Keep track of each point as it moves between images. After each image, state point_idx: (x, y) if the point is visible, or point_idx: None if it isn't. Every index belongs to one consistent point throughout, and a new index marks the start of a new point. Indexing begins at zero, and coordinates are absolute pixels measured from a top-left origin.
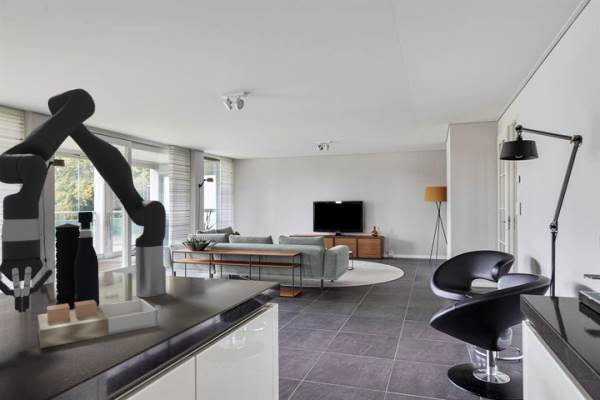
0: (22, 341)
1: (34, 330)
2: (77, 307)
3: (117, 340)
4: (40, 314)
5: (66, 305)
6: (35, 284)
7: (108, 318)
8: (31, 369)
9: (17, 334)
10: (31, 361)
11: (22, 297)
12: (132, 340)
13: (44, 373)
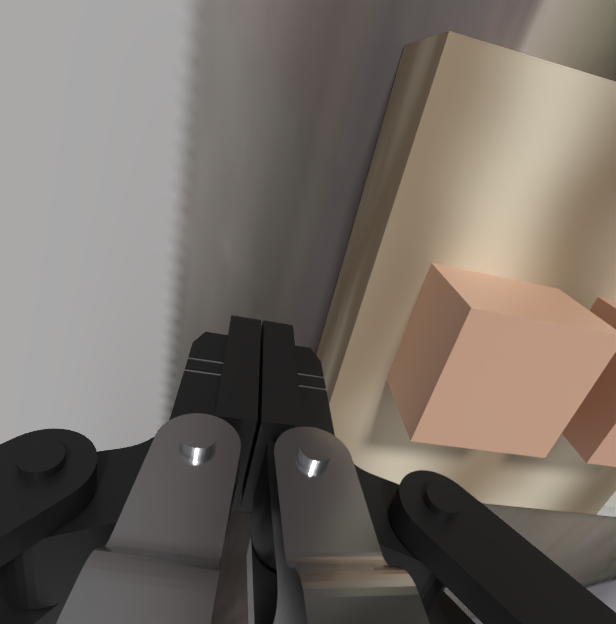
0: (261, 246)
1: (388, 17)
2: (585, 453)
3: (517, 515)
4: (468, 47)
5: (569, 398)
6: (456, 590)
7: (599, 512)
8: (223, 568)
9: (271, 26)
10: (236, 517)
11: (242, 502)
12: (541, 542)
13: (245, 605)
